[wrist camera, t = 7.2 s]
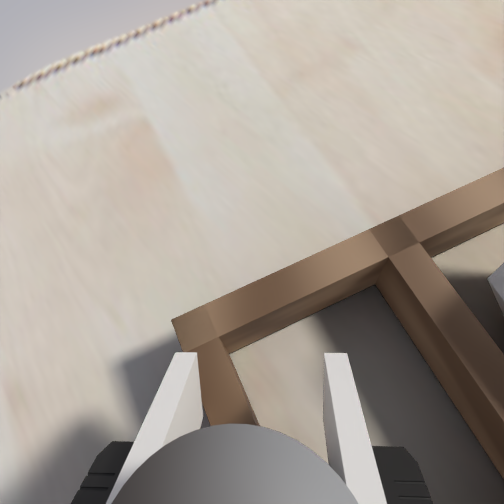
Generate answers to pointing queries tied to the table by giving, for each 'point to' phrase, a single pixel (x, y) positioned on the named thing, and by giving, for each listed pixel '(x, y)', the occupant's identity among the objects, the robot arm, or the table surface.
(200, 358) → the frame
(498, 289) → the die
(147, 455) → the robot arm
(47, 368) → the table surface
